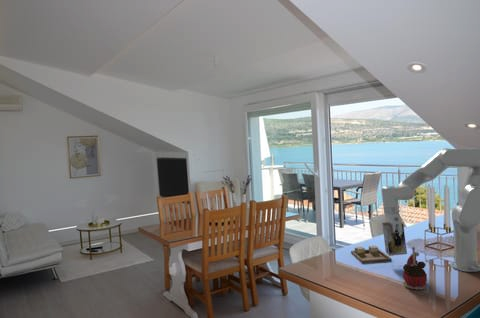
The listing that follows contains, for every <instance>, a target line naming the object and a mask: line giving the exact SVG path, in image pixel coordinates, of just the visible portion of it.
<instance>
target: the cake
mask: <svg viewBox="0 0 480 318" xmlns="http://www.w3.org/2000/svg"><path fill="white" fill-rule="evenodd" d="M411 250H412V253H411V254H410V256H409V257H408V259H407V260H406V263H405V264H404V265H403V266H402V267H403V268H402V269H403V274H402V277H403V280H404V281H403V285H404V287H406V288H408V289H411V290H412V289H413V290H420V291H421V290H423V289H424V290H425V289H426V288H428V284H427V282H428V281H427V280H428V276H427V275H428V274H427V273H426V271H425V270H424V269H425V267H426V263H425V262H424V261H418V260H417V257H419V256H420V253H419V252H418V251H416V250H415V247H414V246H412V249H411Z"/></svg>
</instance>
